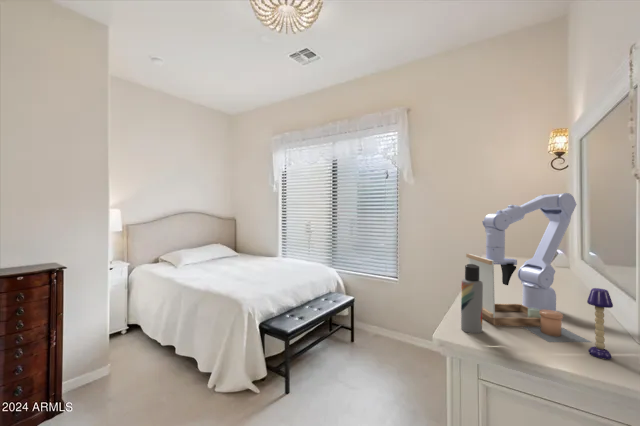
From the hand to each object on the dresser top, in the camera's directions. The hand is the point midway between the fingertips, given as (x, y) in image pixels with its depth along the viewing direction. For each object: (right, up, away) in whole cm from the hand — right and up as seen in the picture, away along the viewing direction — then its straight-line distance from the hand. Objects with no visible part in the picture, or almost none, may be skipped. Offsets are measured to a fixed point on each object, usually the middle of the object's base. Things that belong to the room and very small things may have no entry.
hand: (494, 284), depth 101 cm
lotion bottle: (-17, -10, -16) cm, 25 cm away
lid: (-8, +2, -6) cm, 10 cm away
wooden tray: (+1, -10, -6) cm, 12 cm away
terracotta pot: (+5, -10, -18) cm, 21 cm away
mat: (+6, -10, -19) cm, 22 cm away
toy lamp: (+8, -10, -30) cm, 33 cm away
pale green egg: (+7, -10, -10) cm, 15 cm away
